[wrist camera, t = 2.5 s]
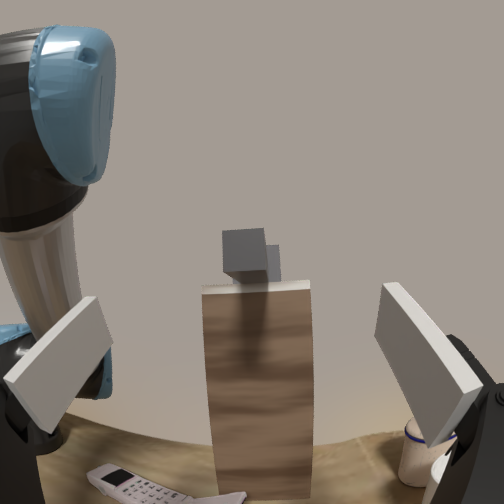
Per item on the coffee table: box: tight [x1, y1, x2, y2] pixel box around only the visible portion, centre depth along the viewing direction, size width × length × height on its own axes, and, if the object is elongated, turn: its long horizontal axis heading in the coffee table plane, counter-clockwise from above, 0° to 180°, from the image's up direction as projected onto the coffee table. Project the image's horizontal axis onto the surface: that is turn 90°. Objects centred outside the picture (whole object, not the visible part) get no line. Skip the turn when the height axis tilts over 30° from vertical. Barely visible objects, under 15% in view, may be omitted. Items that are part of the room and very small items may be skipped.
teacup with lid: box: [398, 417, 457, 487], centre depth 25 cm, size 12×9×12 cm
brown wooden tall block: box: [202, 280, 314, 500], centre depth 32 cm, size 10×12×30 cm
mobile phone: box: [86, 463, 247, 504], centre depth 22 cm, size 6×6×25 cm
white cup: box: [422, 452, 451, 504], centre depth 11 cm, size 8×8×10 cm
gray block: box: [222, 228, 281, 284], centre depth 30 cm, size 21×6×5 cm, turn 176°
